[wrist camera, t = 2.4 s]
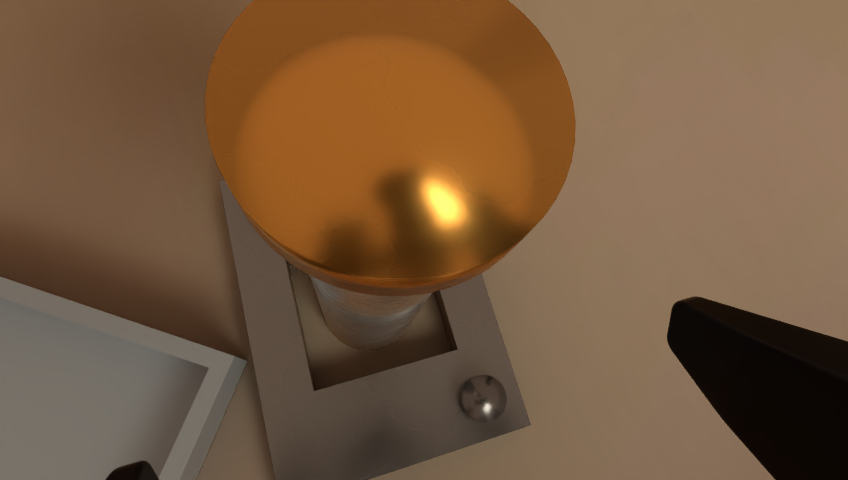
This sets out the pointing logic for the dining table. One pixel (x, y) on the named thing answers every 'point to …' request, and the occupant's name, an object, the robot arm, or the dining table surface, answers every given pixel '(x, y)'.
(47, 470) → the tray
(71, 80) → the dining table surface
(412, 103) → the orange capped tube
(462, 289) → the plate
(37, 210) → the dining table surface
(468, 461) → the dining table surface
